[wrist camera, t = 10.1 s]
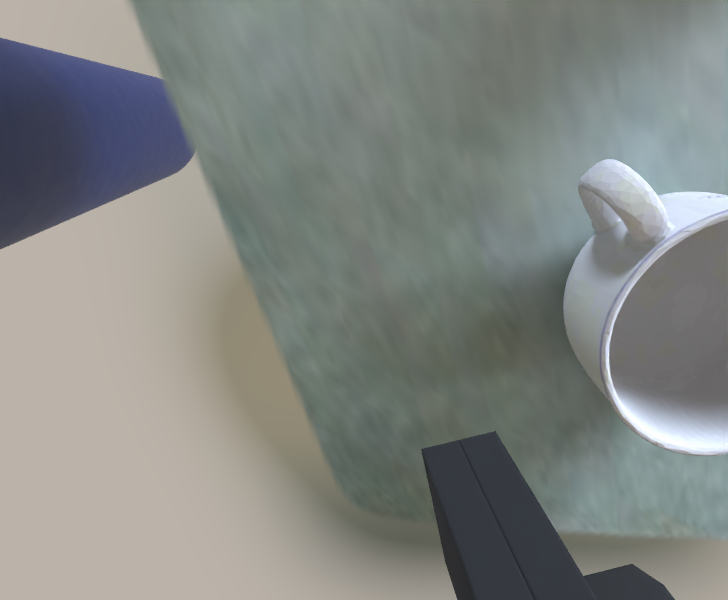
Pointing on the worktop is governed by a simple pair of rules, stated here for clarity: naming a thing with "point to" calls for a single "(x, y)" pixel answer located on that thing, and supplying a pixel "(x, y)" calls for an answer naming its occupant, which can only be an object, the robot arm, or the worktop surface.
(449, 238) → the worktop surface
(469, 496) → the robot arm
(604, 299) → the teacup
